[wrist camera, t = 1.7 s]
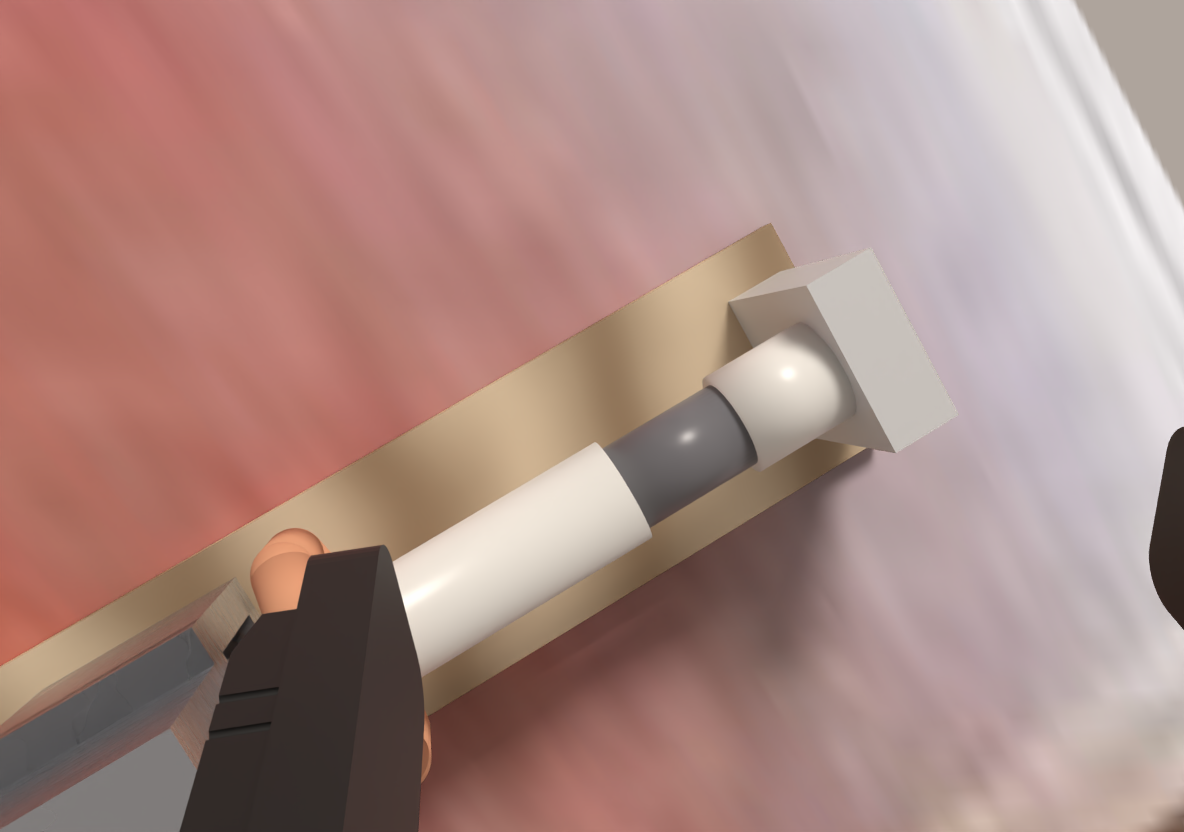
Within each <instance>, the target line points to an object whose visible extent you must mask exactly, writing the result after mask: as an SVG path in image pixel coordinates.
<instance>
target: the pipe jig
mask: <svg viewBox="0 0 1184 832" xmlns="http://www.w3.org/2000/svg"><path fill="white" fill-rule="evenodd" d="M728 303H729V305H730V307H731V308H732V310H733V312H734V314H735V316H736V318H737V319H738V321H739V323H740V325H741V327H742V329H743V330H744V332H745V334H746V336H747V338H748V340H749V341H750V343H751V345H752V347H753V349H751V350H750V351H748V352H746V353H745V354H743V355H741V356H740V357H738V358H736V359H735V360H733V361H731V362H729V363H728V364H726V365H724V366H723V367H721V368H719V369H718V370H716V371H714V372H713V373H711V374H709V375H707V376H706V377H704V378H703V380H702V385H703V389H702V390H700V391H698V392H697V393H695V394H693V395H692V396H690V397H688V398H687V399H685V400H683V401H681V402H680V403H678V404H676V405H675V406H673V407H671V408H670V409H668V410H666V411H665V412H663V413H661V414H660V415H658V416H656V417H654V418H653V419H651V420H649V421H648V422H646V423H644V424H643V425H641V426H639V427H638V428H636V429H634V430H633V431H631V432H629V433H627V434H626V435H624V436H622V437H621V438H619V439H617V440H616V441H614V442H612V443H611V444H609V445H607V446H606V447H604V448H601V447H600V446H599V445H598V444H597V443H596V442H594V443H592V444H591V445H589V446H587V447H586V448H584V449H582V450H581V451H579V452H577V453H576V454H574V455H572V456H570V457H569V458H567V459H565V460H564V461H562V462H560V463H559V464H557V465H555V466H554V467H552V468H550V469H548V470H547V471H545V472H543V473H542V474H540V475H538V476H537V477H535V478H533V479H532V480H530V481H528V482H526V483H525V484H523V485H521V486H520V487H518V488H516V489H515V490H513V491H511V492H510V493H508V494H506V495H504V496H503V497H501V498H499V499H498V500H496V501H494V502H493V503H491V504H489V505H488V506H486V507H484V508H482V509H481V510H479V511H477V512H476V513H474V514H472V515H471V516H469V517H467V518H466V519H464V520H462V521H460V522H459V523H457V524H455V525H454V526H452V527H450V528H449V529H447V530H445V531H444V532H442V533H440V534H439V535H437V536H435V537H433V538H432V539H430V540H428V541H427V542H425V543H423V544H422V545H420V546H418V547H417V548H415V549H413V550H411V551H410V552H408V553H406V554H405V555H403V556H401V557H400V558H398V559H396V560H395V561H393V565H394V569H395V573H396V577H397V580H398V584H399V588H400V592H401V595H402V599H403V603H404V607H405V611H406V614H407V618H408V622H409V626H410V630H411V633H412V637H413V641H414V645H415V649H416V652H417V656H418V661H419V665H420V671H421V677H423V676H425V675H427V674H428V673H430V672H432V671H433V670H435V669H437V668H438V667H440V666H442V665H443V664H445V663H446V662H448V661H450V660H451V659H453V658H455V657H456V656H458V655H460V654H461V653H463V652H465V651H466V650H468V649H470V648H471V647H473V646H475V645H476V644H478V643H479V642H481V641H483V640H484V639H486V638H488V637H489V636H491V635H493V634H494V633H496V632H498V631H499V630H501V629H503V628H504V627H506V626H507V625H509V624H511V623H512V622H514V621H516V620H517V619H519V618H521V617H522V616H524V615H526V614H527V613H529V612H531V611H532V610H534V609H535V608H537V607H539V606H540V605H542V604H544V603H545V602H547V601H549V600H550V599H552V598H554V597H555V596H557V595H559V594H560V593H562V592H563V591H565V590H567V589H568V588H570V587H572V586H573V585H575V584H577V583H578V582H580V581H582V580H583V579H585V578H587V577H588V576H590V575H592V574H593V573H595V572H596V571H598V570H600V569H601V568H603V567H605V566H606V565H608V564H610V563H611V562H613V561H615V560H616V559H618V558H620V557H621V556H623V555H624V554H626V553H628V552H629V551H631V550H633V549H634V548H636V547H638V546H639V545H641V544H643V543H644V542H646V541H648V540H649V539H651V538H652V533H651V530H650V528H651V527H653V526H654V525H656V524H657V523H659V522H661V521H662V520H664V519H666V518H667V517H669V516H671V515H672V514H674V513H676V512H677V511H679V510H681V509H682V508H684V507H686V506H687V505H689V504H691V503H692V502H694V501H695V500H697V499H699V498H700V497H702V496H704V495H705V494H707V493H709V492H710V491H712V490H714V489H715V488H717V487H719V486H720V485H722V484H724V483H725V482H727V481H728V480H730V479H732V478H733V477H735V476H737V475H738V474H740V473H742V472H743V471H745V470H747V469H748V468H750V467H752V468H753V469H754V470H756V471H758V472H761V471H763V470H765V469H766V468H768V467H769V466H771V465H773V464H774V463H776V462H778V461H779V460H781V459H783V458H784V457H786V456H788V455H789V454H791V453H793V452H794V451H796V450H797V449H799V448H801V447H802V446H804V445H806V444H807V443H809V442H811V441H812V440H814V439H821V440H827V441H832V442H838V443H843V444H849V445H854V446H859V447H865V448H870V449H876V450H881V451H887V452H892V453H897V452H899V451H900V450H902V449H904V448H905V447H907V446H909V445H910V444H912V443H913V442H915V441H917V440H918V439H920V438H922V437H923V436H925V435H926V434H928V433H930V432H931V431H933V430H935V429H936V428H938V427H939V426H941V425H943V424H944V423H946V422H948V421H949V420H951V419H952V418H954V417H956V416H957V415H959V414H958V412H957V411H956V409H955V407H954V405H953V403H952V401H951V399H950V397H949V395H948V393H947V391H946V390H945V388H944V386H943V384H942V382H941V380H940V378H939V376H938V374H937V372H936V370H935V369H934V367H933V365H932V363H931V361H930V359H929V357H928V355H927V353H926V351H925V349H924V348H923V346H922V344H921V342H920V340H919V338H918V336H917V334H916V332H915V330H914V328H913V327H912V325H911V323H910V321H909V319H908V317H907V315H906V313H905V311H904V309H903V308H902V306H901V304H900V302H899V300H898V298H897V296H896V294H895V292H894V290H893V288H892V287H891V285H890V283H889V281H888V279H887V277H886V275H885V273H884V271H883V269H882V267H881V266H880V264H879V262H878V260H877V258H876V256H875V254H874V252H873V250H872V248H867V249H863V250H859V251H856V252H852V253H848V254H844V255H840V256H837V257H833V258H829V259H825V260H822V261H818V262H814V263H810V264H806V265H803V266H799V267H795V268H791V269H787V270H784V271H780V272H778V273H776V274H775V275H773V276H771V277H770V278H768V279H766V280H764V281H763V282H761V283H759V284H758V285H756V286H754V287H752V288H751V289H749V290H747V291H746V292H744V293H742V294H740V295H739V296H737V297H735V298H734V299H732V300H730V301H729V302H728ZM227 660H228V661H229V659H227Z"/></svg>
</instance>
